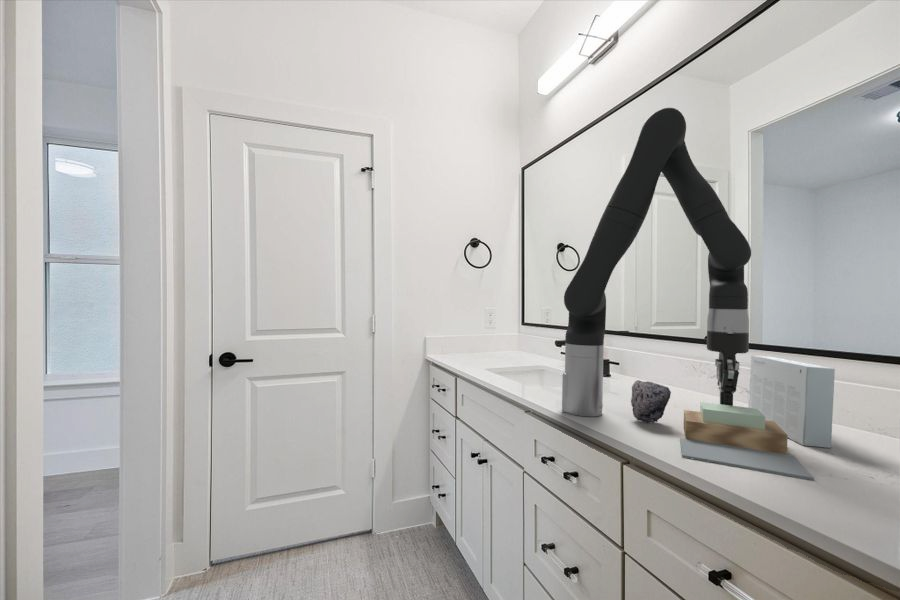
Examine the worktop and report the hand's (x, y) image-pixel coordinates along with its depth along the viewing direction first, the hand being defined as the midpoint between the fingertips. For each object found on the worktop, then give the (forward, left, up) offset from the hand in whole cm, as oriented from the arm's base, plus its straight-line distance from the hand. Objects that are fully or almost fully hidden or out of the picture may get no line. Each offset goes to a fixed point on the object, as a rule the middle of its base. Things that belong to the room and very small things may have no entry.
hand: (726, 409), depth 87 cm
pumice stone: (-15, -2, -5) cm, 16 cm away
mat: (0, -17, -5) cm, 18 cm away
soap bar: (0, -7, -1) cm, 7 cm away
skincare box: (+12, +8, -5) cm, 16 cm away
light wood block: (0, -7, -5) cm, 8 cm away
